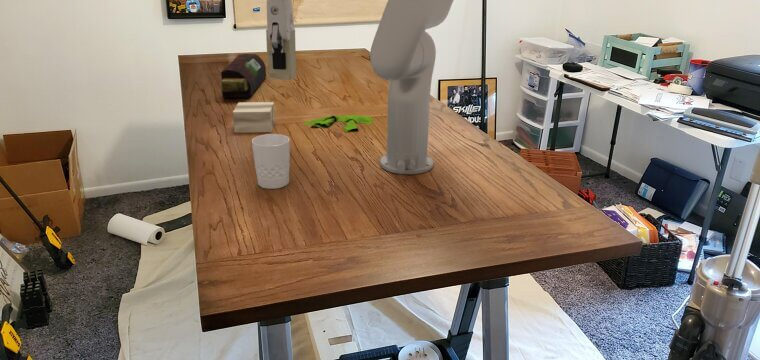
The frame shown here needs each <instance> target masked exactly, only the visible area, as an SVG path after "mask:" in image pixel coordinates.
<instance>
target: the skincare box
mask: <svg viewBox="0 0 760 360" xmlns="http://www.w3.org/2000/svg"><path fill="white" fill-rule="evenodd" d="M265 35H266V36H265V37H266V57H267V58H266V60H267V61H266V62H267V78H268V79H273V80H279V81H281V80H282V81H291V80H293V79H295V78H296V77H297V61H296V60H297V59H296V58H297V56H296V52H297V50H296V29H295V28H294V29H292V30H291V31H290V40H288V41H286V40H285V39H284V53H285V54H286V69H285V70H280V69H273V60H272V41H271V40H270V39H269V38H268V30H267V29H266V30H265ZM271 37H272V34H271ZM278 40H282V38H278ZM280 45H281V43H280Z"/></svg>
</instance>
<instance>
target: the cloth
mask: <svg viewBox="0 0 760 360" xmlns="http://www.w3.org/2000/svg"><path fill="white" fill-rule="evenodd" d="M335 121H336V122H340V123H342V122H343V123H345V122H346V123H345V124H344V127H343V132H345V133H348V132H355V131H356V132H358V131H359V127H358V126H357V124H365V125H367V124H372V123H373V121H375V119H374V118H372V117H371V116H365V115H357V114H355V115H354V114H353V115H351V114H349V115H347V114H346V115H330V116H326V117H320V118H316V119H311V120H307V121H305V122H303V123H302V125H311V126H310V129H312V128H313V129H314V128H315V127H317V128H320V129H327V128H328V127H331V125H332V124H333V123H335Z"/></svg>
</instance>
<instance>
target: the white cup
mask: <svg viewBox="0 0 760 360" xmlns="http://www.w3.org/2000/svg"><path fill="white" fill-rule="evenodd" d="M290 144H291V143H290V137H289V136H287V135H284V134H280V133H267V134H260V135H257V136H255V137H253V138H251V146H252V153H253V154H252V155H253V162H254V168H255V173H256V178H257V185H258V186H259V187H261V188H263V189H266V190H267V189H270V190H271V189H272V190H274V189H280V188H283V187H286V186H288V184H290V165H291V164H290V163H291V158H290V157H291V156H290V155H291V152H290V151H291V150H290Z"/></svg>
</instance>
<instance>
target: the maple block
mask: <svg viewBox="0 0 760 360" xmlns="http://www.w3.org/2000/svg"><path fill="white" fill-rule="evenodd" d="M232 117H233V128H234V129H233V130H234V133H272V131H273V128H274V126H275V122H276V115H275V102H274V101H245V102H244V101H243V102H241V101H239V102H238V103H237V104H236V106H235V107H234V109H233V111H232Z"/></svg>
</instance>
